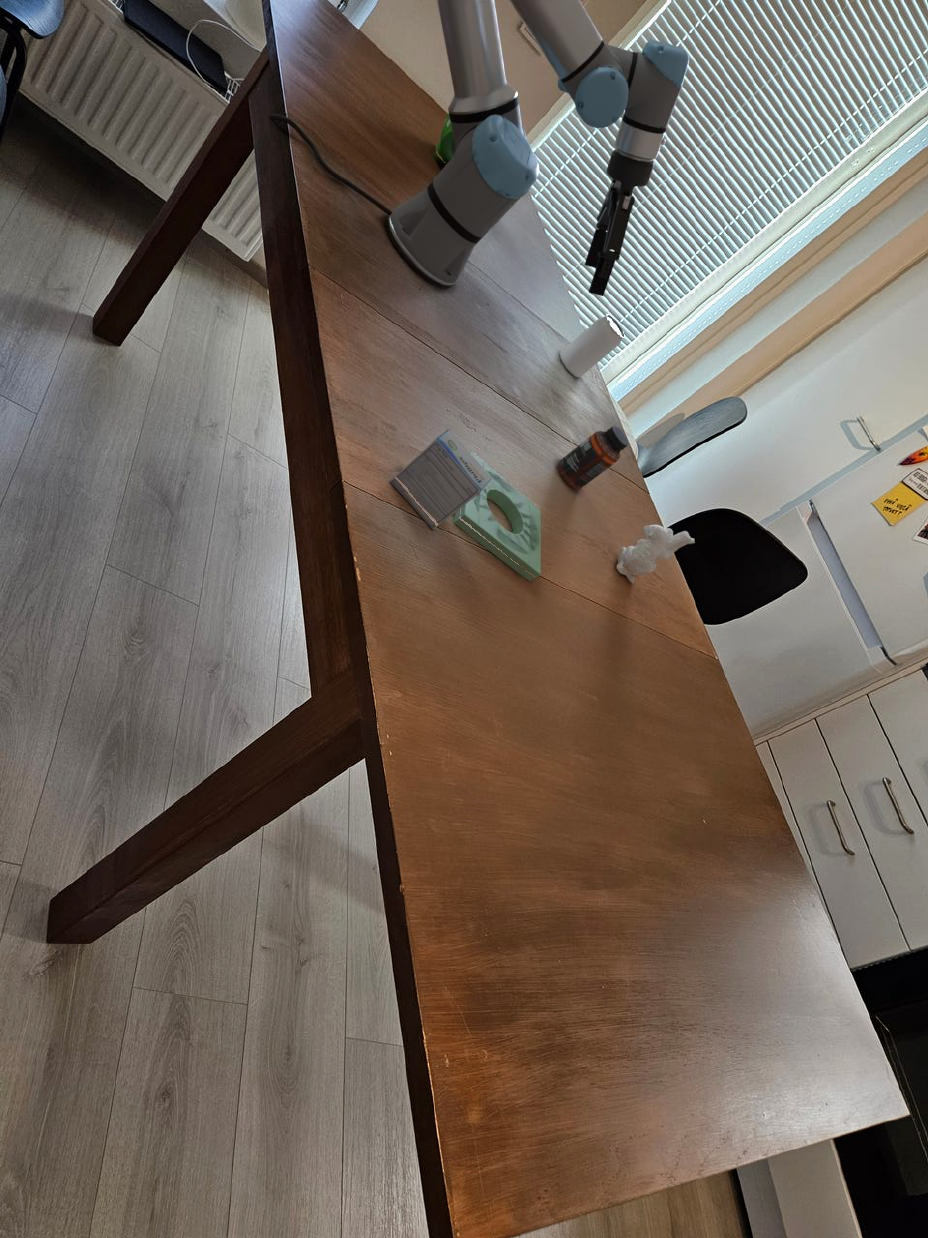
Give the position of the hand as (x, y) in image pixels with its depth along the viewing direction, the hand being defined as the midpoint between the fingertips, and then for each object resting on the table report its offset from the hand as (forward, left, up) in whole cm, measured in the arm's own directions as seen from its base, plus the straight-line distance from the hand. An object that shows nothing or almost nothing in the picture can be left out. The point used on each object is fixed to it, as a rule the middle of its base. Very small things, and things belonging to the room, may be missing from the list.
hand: (593, 279), depth 149 cm
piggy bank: (-27, +37, -15) cm, 48 cm away
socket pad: (-8, -65, -15) cm, 67 cm away
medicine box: (-21, -73, -15) cm, 77 cm away
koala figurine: (+21, -52, -15) cm, 58 cm away
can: (+10, +1, -15) cm, 18 cm away
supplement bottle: (+8, -39, -15) cm, 43 cm away
